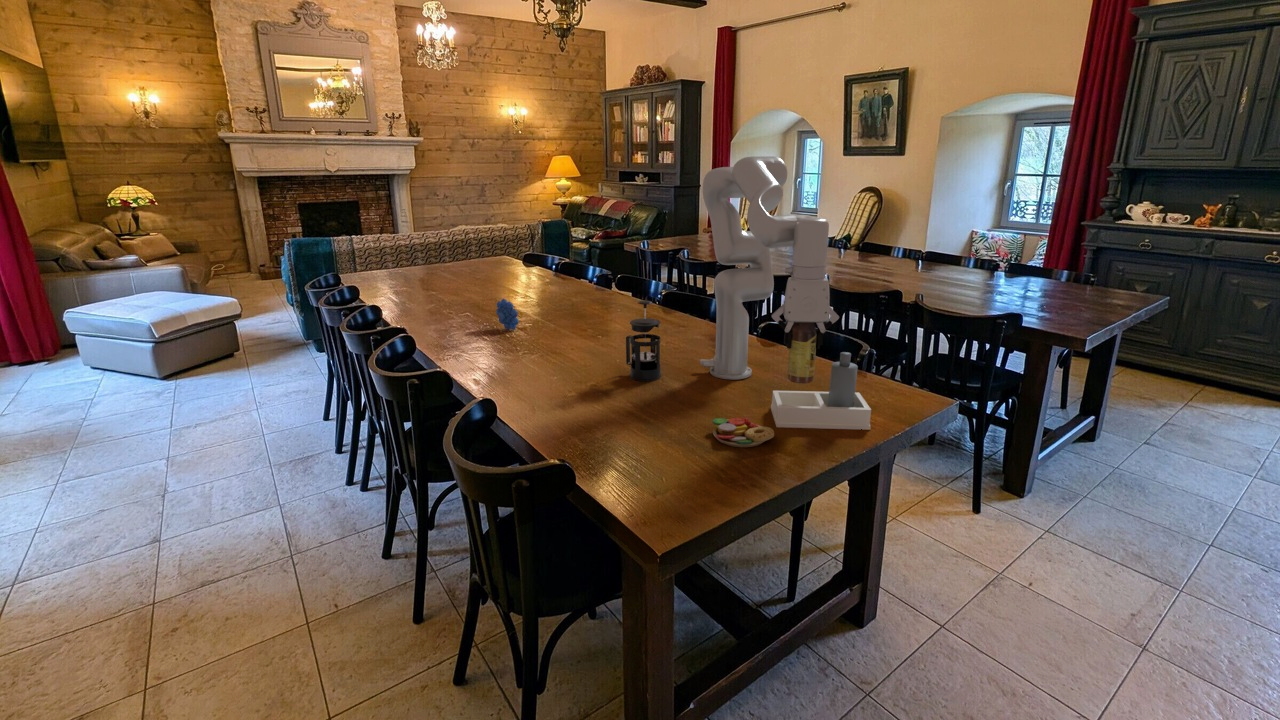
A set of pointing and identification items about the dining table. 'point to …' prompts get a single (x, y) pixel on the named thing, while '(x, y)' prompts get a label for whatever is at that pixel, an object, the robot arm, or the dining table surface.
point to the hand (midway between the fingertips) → (802, 346)
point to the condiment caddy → (825, 403)
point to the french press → (645, 363)
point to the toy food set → (740, 432)
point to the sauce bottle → (802, 352)
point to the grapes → (507, 314)
